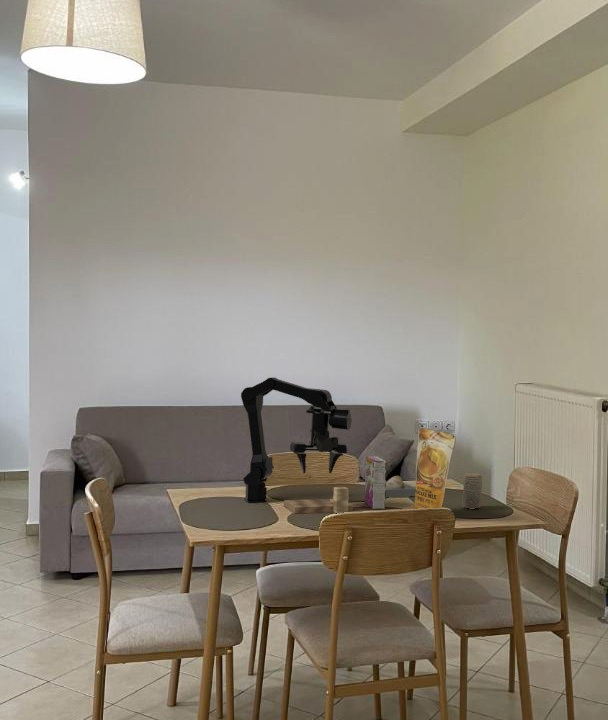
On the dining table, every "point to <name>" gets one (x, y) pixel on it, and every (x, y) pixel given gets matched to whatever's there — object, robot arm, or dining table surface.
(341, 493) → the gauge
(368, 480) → the candy bar box
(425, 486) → the pancake mix bag
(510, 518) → the dining table surface
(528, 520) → the dining table surface
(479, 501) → the carving
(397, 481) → the beige rock
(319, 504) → the board
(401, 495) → the mug coaster tray
